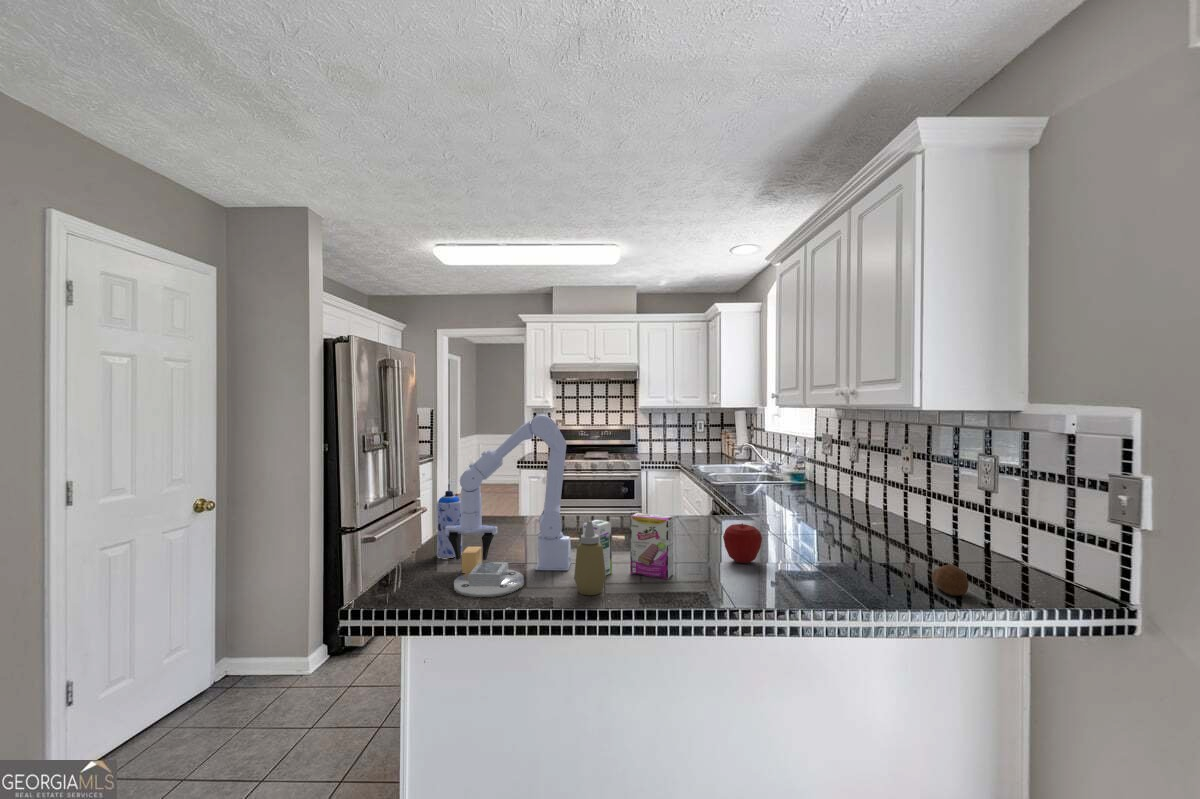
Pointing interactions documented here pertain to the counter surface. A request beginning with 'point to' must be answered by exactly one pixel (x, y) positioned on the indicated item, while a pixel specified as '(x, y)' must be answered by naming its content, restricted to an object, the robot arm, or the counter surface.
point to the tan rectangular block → (471, 558)
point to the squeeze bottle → (590, 563)
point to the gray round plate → (489, 580)
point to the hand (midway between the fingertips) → (471, 558)
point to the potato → (950, 580)
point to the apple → (742, 542)
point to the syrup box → (603, 541)
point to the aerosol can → (447, 523)
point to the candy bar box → (651, 545)
